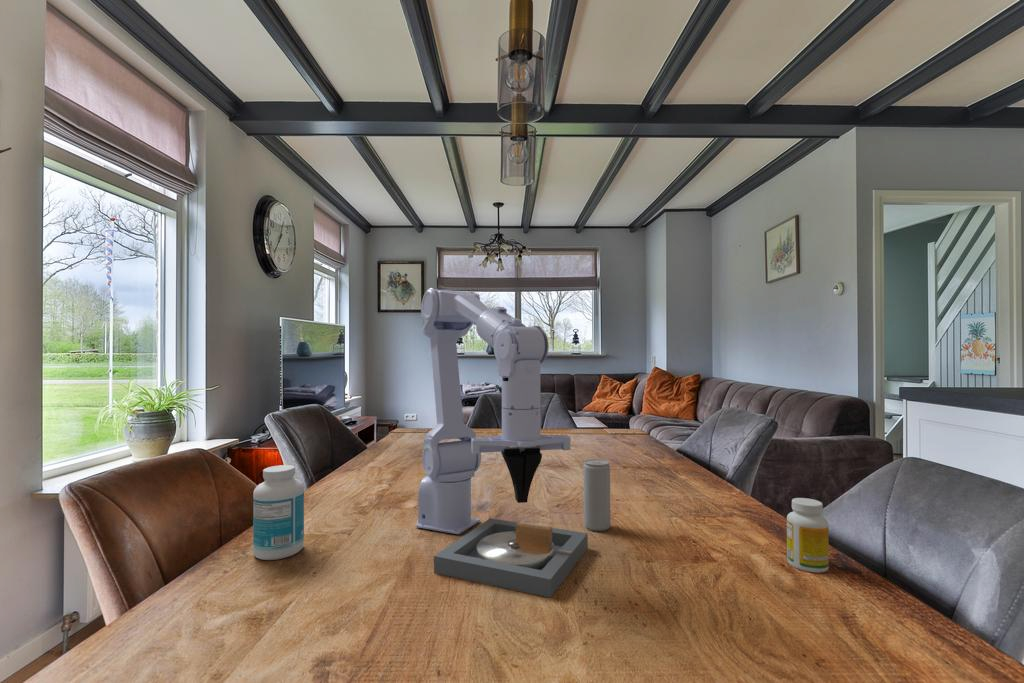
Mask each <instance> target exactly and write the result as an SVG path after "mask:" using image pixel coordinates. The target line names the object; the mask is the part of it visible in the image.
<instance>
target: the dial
mask: <svg viewBox="0 0 1024 683" xmlns="http://www.w3.org/2000/svg"><path fill="white" fill-rule="evenodd" d="M536 524H537V523H535V524H534V523H529V522H528V523H527V522H522V521H519V522H518V524H516V531H509V532H500V533H495V534H492V535H489V536H486V537H484V538H482V539H481V540H480V541H479V542H478V543H477V558H480V559H486V560H491V561H496V562H501V563H506V564H511V565H517V566H522V567H527V568H532V569H538V568H541V567H544V566H546V565H547V564H548V562H549V561H550V560H551V559H552V558H553V557H554V544H553V542H552V528H553V527H552V526H548V525H542V524H539V525H536Z"/></svg>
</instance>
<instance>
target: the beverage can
mask: <svg viewBox="0 0 1024 683" xmlns="http://www.w3.org/2000/svg"><path fill="white" fill-rule="evenodd" d="M583 463H584V464H583V468H582V469H583V525H584V527H585V528H586V529H587V530H589V531H592V532H606V531H607V530H609V529H610V528H611V466H610V461H608V460H605V459H596V458H595V459H593V458H591V459H586V460H584V462H583Z"/></svg>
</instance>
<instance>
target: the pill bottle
mask: <svg viewBox="0 0 1024 683" xmlns="http://www.w3.org/2000/svg"><path fill="white" fill-rule="evenodd" d="M295 475H296V467H295V465H291V464H282V465H281V464H279V465H272V466H267V467H266V468H264V469H262V477H263V480H264V481H263V482H261V483H259V484H258V485H256V487H255V488H254V490H253V493H252V494H253V495H252V497H253V500H252V501H253V506H252V509H253V510H252V512H253V513H252V514H253V516H252V522H253V523H252V524H253V525H252V529H253V530H252V551H253V552H252V554H253V556H255V558H257V559H259V560H264V561H274V560H281V559H286V558H289V557H292V556H294V555H296V554H298V553H299V552H300V551H301V550H302V549H303V548H304V544H305V486H304V483H303V482H302V481H301V480H300V479H297V478H294V477H295Z"/></svg>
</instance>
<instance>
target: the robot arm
mask: <svg viewBox="0 0 1024 683" xmlns="http://www.w3.org/2000/svg"><path fill="white" fill-rule="evenodd" d="M507 312H508V310H507V308H505V307H504V306H495V307H491V308H489V307H488V306H487V305H486V304H484V303H483V302H482V301H481V297H480V295H479V294H478V293H476V292H474V291H473V290H472V291H471V290H470V291H463V290H460V291H459V290H448V289H436V288H433V287H430V288H427V290H426V291H425V292H424V294H423V297H422V300H421V304H420V314H421V326H422V327H421V328H422V334H423V335H424V336H426V337H428V338H429V342H430V354H431V367H432V377H433V389H434V390H433V391H434V402H435V403H434V404H435V413H436V414H435V418H436V425H435V426H434V427H433V428H432V429H431V430H430V431H429V432H428V433H427V434H426V435H425V437H424V438H423V451H422V461H421V462H422V467H423V470H424V472H425V476H424V477H423V478H422V480H421V481H420V484H419V487H418V491H417V492H418V493H417V494H418V495H417V496H418V497H417V500H418V501H417V523H416V524H415V528H418V529H419V528H420V529H424V530H430V531H431V530H432V531H435V532H442V533H449V534H453V535H461V534H462V533H464V532H465V531H467V530H469V529H470V528H471V527H473V526H474V525H476V524H478V523H479V522H481V519H480V518H479V517H472V478H474V477H475V473H476V472H477V471H478V470H479V468H480V466H481V462H482V453H501V455H502V458H503V459H504V462H505V464H506V467H507V470H508V472H509V475H510V478H511V482H512V486H513V490H514V499H515V501H516V502H517V503H518V504H520V503H522V504H523V503H528V500H529V494H530V489H531V485H532V482H533V479H534V477H535V473H536V471H537V470H538V468H539V466H540V463H541V462H542V457H543V454H542V453H541V451H551V450H552V451H553V450H555V451H556V450H563V451H571V437H570V436H569V435H567V434H556V435H555V434H541V426H542V425H541V424H542V422H541V421H542V420H541V364H542V363H544V361H545V360H546V358H547V356H548V355H549V348H550V347H549V346H550V344H549V338H548V335H547V333H546V332H545V330H544V329H543V328H542V327H541V326H540V325H532V326H526V325H525V324H524V323H523V322H522V319H520V318H519V317H518V318H517V317H513V316H512V315H510V314H509V313H507ZM473 326H475V329H476V332H477V336H479V337H480V339H481V340H483V341H484V342H485V343H487V344H488V345H489V346H490V347H491V348H493V353H494V356H495V359H496V363H497V372H498V375H499V376H500V377H501V435H494V436H493V435H492V436H486V437H477V433H476V432H475V430H474V429H473V428H470V427H469V426H468V425H467V424H466V423H464V414H463V412H464V411H463V403H462V392H461V380H460V371H459V370H460V369H459V360H458V346H457V343H458V341H459V339H461V338H463V337H465V336H467V334H468V333H469V331H470V329H471V328H472V327H473ZM454 439H455V440H454ZM456 439H457V440H456ZM444 440H445V441H444ZM447 440H453V441H447ZM441 441H444V442H441Z"/></svg>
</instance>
